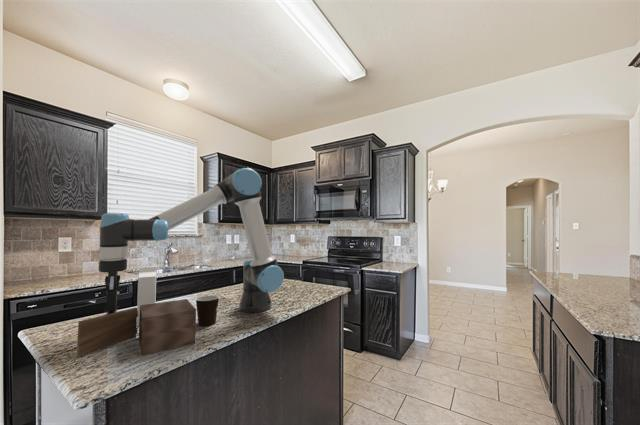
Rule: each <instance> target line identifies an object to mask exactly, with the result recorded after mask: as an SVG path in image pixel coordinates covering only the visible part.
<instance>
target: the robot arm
mask: <svg viewBox="0 0 640 425" xmlns="http://www.w3.org/2000/svg"><path fill="white" fill-rule="evenodd" d="M262 185H263V181H262V177H261V176H260V174H259V173H258V172H257V171H255V170H254V169H252V168H250V167H243V168H239V169H236V171H235V172H233V173H231V174H229V175H228V176H227V177H225V178H224V179H223V180H221V181H219V182H218V183H216V184H214V185H213V188H211V189H209V190H207V191H205V192H203V193H201V194H199V195H196V196H194V197H192V198H190V199H188V200H186V201H184V202H181V203H180V204H177V205H176V206H174V207H171V208H170V209H168V210H165V211H163V212H161V213H159V214H157V215H155V216H152V217H150V218H148V219H132V218H130V217H129V214H128V213H117V212H115V213H113V212H112V213H111V212H109V213H108V212H107V213H103V214H102V215H101V219H100V226H99V249H97V253H99V259H100V260H99V262H98V272H100V273H107V276H105V277H104V283H105V292H106V308H105V309H103V312H104V313H105V315H107V314H111V313H115V312H118V311H117V309H119V308H120V306H119V305H118V291H119V288H120V281H121V274H120V275H119V274H118V272H124V271H126V270H127V269H128V259H127V258H128V255H129V254H128V253H129V251H128V250H129V246H128V245H129V244H128V243H129V242H134V241H135V242H136V241H137V242H138V241H142V242H143V241H153V242H154V241H156V242H157V241H165V240H167V239H168V237H169V236H168V234H169V231H170V230H172V229H174V228H176V227H179V226H180V225H182V224H184V223H186V222H188V221H190V220H192V219H194V218H196V217H198V216H200V215H203V213H205V212H207V211H209V210H212V209H214V208H215V207H217V206H219V205H222V204H224V205H226V204H228V203H229V202H233V203H234V204H235V205H236V206H238V208H239V211H240V217H241V219H242V223H243V227H244V231H245V235H246V240H247V244H248V247H249V248H248V249H249V252H250V258H251V259H248V260H245V261H243V268H242V269H243V271H242V272H243V273H242V274H243V277H242V279H243V281H242V282H243V283H242V285H243V287H242V289H243V290H242V295H241V298H240V301H239V305H238V309H239V311H240V312H244V313H261V312H265V311H269V310H270V309H271V308H272V300H271V296H270V293H274V292H276V291H277V290H279V289H280V288H281V287H282V284H284V279H285V274H284V271H283V269H282V267H280V266H279V264H278V261H277V257H276V256H274V255H273V254H272V251H271V246H270V243H269V238H268V234H267V230H266V226H265V222H264V217H263V214H262V208H261V206H260V205H261V204H260V201H261V199H262V194H261V189H262Z"/></svg>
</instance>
